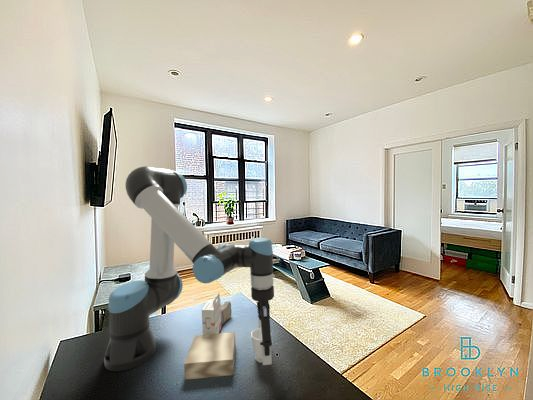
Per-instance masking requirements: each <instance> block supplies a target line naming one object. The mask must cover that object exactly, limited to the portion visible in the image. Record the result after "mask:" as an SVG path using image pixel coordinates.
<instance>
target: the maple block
mask: <svg viewBox="0 0 533 400" xmlns="http://www.w3.org/2000/svg"><path fill="white" fill-rule="evenodd" d="M235 355H236V331H235V332H234V331H233V332H221V333H220V332H219V333H218V334H206V335H203V334H197V335H196V334H195V335H194V337H193V340H192V342H191V345H190V348H189V351H188V353H187V356H186V358H185V360H184V364H183V365H184V366H183V367H184V371H183V372H184V380H193V379H194V380H196V379H205V378H206V379H207V378H213V377H214V378H215V377H224V376H233V375H234V369H235V358H236V357H235Z"/></svg>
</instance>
